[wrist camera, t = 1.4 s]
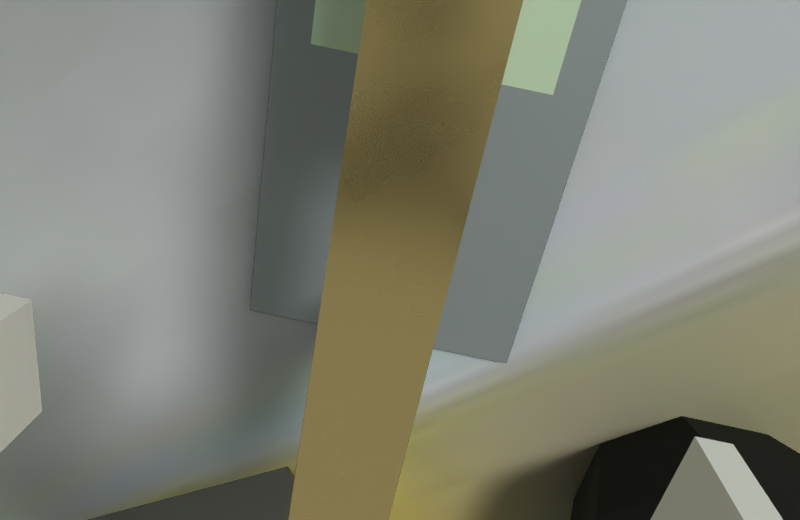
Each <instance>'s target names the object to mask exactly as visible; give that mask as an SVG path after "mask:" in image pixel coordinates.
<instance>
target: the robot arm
mask: <svg viewBox="0 0 800 520" xmlns="http://www.w3.org/2000/svg"><path fill="white" fill-rule="evenodd" d="M41 412H42V402H41V391H40V381H39V371H38V360H37V350H36V339H35V329H34V319H33V308H32V300H31V299H26V298H21V297H17V296H12V295H7V294H2V293H0V452H1V451H3V450H4V449H5V448H6V447H7V446H8V445H9V444H10V443H11V442H12V441H13V440H14V439H15V438H16V437H17V436H18V435H19V434H20V433H21V432H22V431H23V430H24V429H25V428H26V427H27V426H28V425H29V424H30V423H31V422H32V421H33V420H34V419H35V418H36V417H37V416H38V415H39V414H40V413H41ZM651 520H783V519H782V517H781V516H780V514H779V513H778V511H777V510H776V508H775V507H774V505H773V504H772V502H771V501H770V499H769V497H768V496H767V494H766V493H765V491H764V490H763V488H762V487H761V485H760V484H759V482H758V481H757V479H756V478H755V476H754V475H753V473H752V472H751V470H750V469H749V467H748V466H747V464H746V463H745V461H744V460H743V458H742V457H741V455H740V454H739V452H738V451H737V449H736V448H735V446H734V445H733V444H730V443H725V442H720V441H715V440H710V439H705V438H701V437H696V436H695V437H694V439H693V441H692V443H691V445H690V447H689V448H688V450H687V452H686V454H685V456H684V458H683V460H682V462H681V463H680V465H679V467H678V469H677V471H676V473H675V475H674V476H673V478H672V480H671V482H670V484H669V486H668V488H667V490H666V491H665V493H664V495H663V497H662V499H661V501H660V503H659V505H658V506H657V508H656V510H655V512H654V514H653V516H652V518H651Z"/></svg>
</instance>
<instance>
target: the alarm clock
mask: <svg viewBox="0 0 800 520" xmlns="http://www.w3.org/2000/svg"><path fill="white" fill-rule="evenodd" d="M294 479H295V477H294V476H293V474H292V472H291V471H290V469H289V468H288V467H284V468H281V469H277V470H273V471H269V472H266V473H262V474H258V475H254V476H251V477H247V478H243V479H239V480H235V481H232V482H228V483H224V484H220V485H217V486H213V487H209V488H205V489H202V490H198V491H194V492H190V493H187V494H183V495H179V496H175V497H172V498H168V499H164V500H160V501H157V502H153V503H149V504H145V505H141V506H138V507H134V508H130V509H126V510H123V511H119V512H115V513H111V514H108V515H104V516H100V517H96V518H93V519H89V520H288V519H289V513H290V506H291V499H292V493H293V486H294Z"/></svg>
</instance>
